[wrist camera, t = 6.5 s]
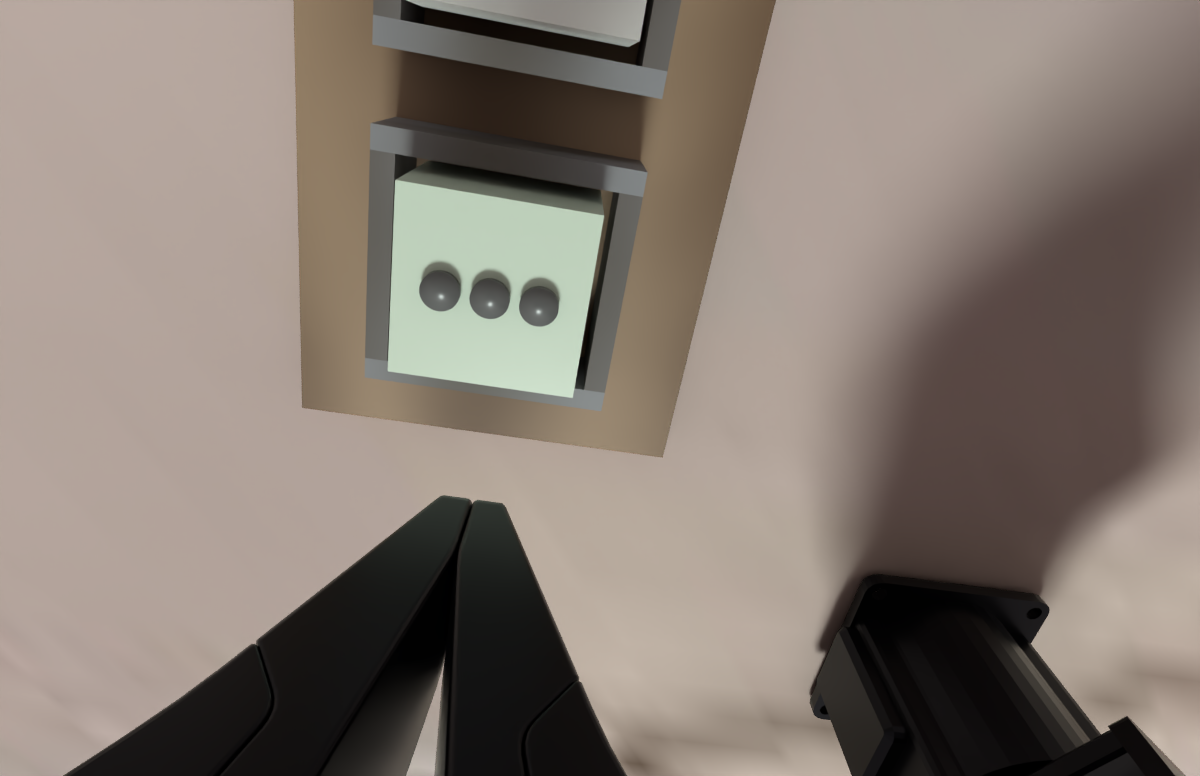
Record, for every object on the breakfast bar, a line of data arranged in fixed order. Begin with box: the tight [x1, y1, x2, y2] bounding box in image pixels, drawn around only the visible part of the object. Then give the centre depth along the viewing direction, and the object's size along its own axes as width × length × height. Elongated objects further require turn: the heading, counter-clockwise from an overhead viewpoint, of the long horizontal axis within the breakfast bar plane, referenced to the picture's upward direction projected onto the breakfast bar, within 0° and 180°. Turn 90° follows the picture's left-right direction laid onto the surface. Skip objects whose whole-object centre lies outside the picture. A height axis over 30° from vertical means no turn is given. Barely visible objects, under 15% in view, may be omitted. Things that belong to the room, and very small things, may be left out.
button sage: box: [388, 161, 604, 398], centre depth 15 cm, size 4×4×3 cm
